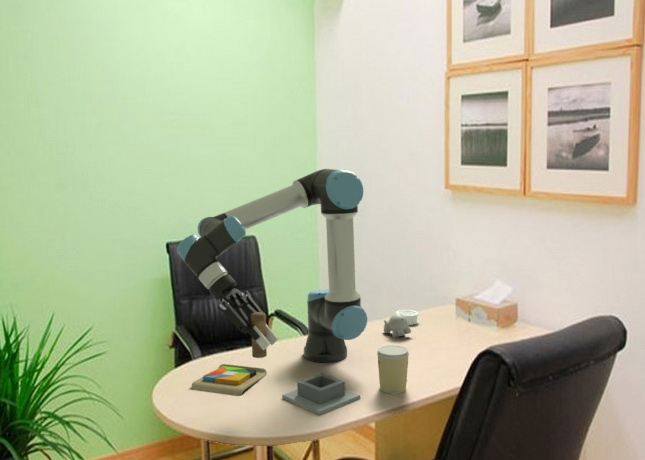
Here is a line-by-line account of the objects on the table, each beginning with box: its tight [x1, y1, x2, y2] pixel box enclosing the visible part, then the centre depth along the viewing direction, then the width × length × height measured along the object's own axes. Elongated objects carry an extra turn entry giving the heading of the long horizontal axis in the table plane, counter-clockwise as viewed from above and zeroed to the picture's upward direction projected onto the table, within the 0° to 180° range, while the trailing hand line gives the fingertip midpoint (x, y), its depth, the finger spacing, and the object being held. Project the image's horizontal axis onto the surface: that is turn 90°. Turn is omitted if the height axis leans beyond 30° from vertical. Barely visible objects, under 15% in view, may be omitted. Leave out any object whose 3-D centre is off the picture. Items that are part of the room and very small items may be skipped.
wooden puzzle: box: [191, 363, 268, 396], centre depth 197 cm, size 18×19×4 cm
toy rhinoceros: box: [383, 313, 412, 339], centre depth 240 cm, size 7×12×8 cm, turn 37°
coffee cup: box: [376, 344, 410, 395], centre depth 188 cm, size 9×9×12 cm
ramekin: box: [395, 309, 419, 326], centre depth 256 cm, size 9×9×4 cm
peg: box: [250, 311, 268, 359], centre depth 177 cm, size 4×4×12 cm
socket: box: [281, 372, 361, 416], centre depth 183 cm, size 16×16×5 cm
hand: (271, 344), depth 175 cm, fingers closed on peg, 4 cm apart
